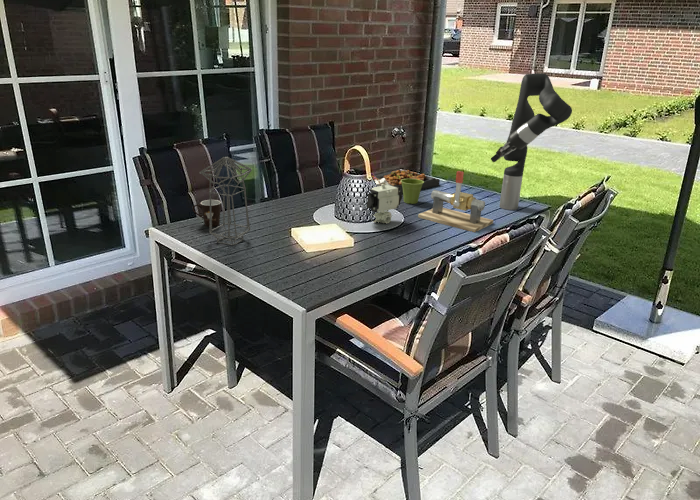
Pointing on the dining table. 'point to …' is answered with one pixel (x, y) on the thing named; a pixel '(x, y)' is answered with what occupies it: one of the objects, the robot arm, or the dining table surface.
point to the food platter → (399, 175)
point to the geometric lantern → (227, 195)
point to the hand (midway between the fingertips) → (492, 160)
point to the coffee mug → (206, 212)
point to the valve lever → (458, 188)
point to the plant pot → (411, 190)
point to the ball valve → (384, 201)
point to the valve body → (465, 203)
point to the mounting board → (455, 219)
